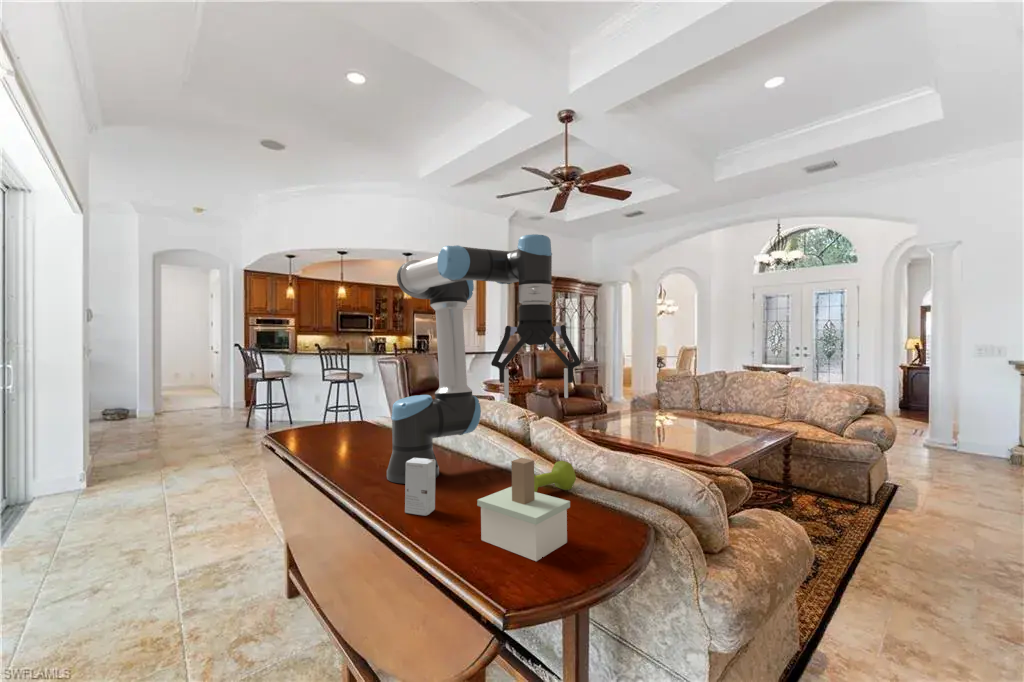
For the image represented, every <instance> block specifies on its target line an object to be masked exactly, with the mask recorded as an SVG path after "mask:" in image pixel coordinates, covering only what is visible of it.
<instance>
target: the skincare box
mask: <svg viewBox="0 0 1024 682" xmlns="http://www.w3.org/2000/svg"><path fill="white" fill-rule="evenodd" d="M436 460H437V459H436ZM436 460H433V459H425V458H412V459H410V460H408V461H407V462H406V471H405V485H404V486H405V487H404V489H405V490H404V493H405V494H404V495H405V496H404V503H405V504H404V513H405V514H410V515H416V516H417V515H418V516H423V517H424V516H428V515H430V514H431V513H432V512H434V511H435V510H436V478H435V467H436Z"/></svg>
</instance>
